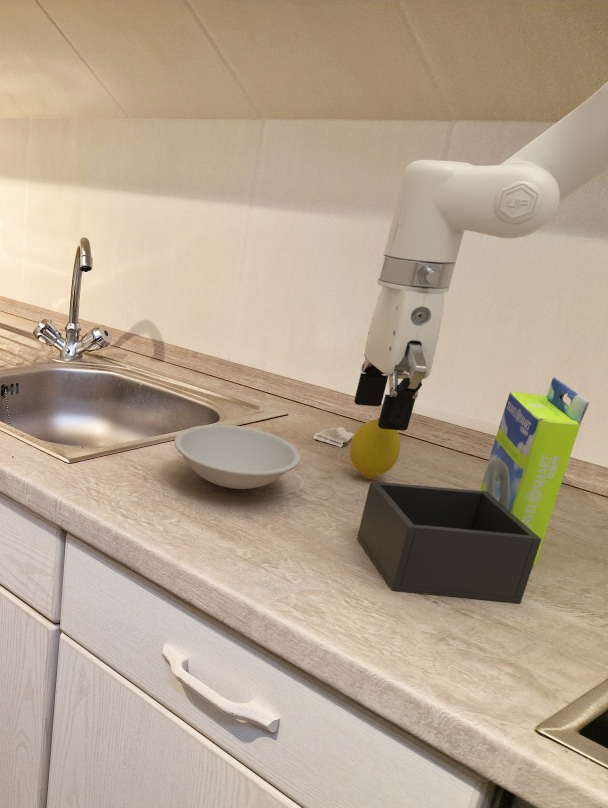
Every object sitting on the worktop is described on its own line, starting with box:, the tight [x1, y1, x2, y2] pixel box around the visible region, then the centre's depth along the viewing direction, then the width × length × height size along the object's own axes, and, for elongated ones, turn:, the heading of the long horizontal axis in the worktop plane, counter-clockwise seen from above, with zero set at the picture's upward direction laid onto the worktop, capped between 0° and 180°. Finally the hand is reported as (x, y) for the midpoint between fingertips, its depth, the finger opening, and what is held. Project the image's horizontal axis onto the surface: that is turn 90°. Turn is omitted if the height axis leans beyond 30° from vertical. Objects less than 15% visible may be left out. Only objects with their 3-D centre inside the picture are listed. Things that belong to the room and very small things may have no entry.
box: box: [479, 377, 590, 566], centre depth 87 cm, size 10×4×17 cm, turn 164°
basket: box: [356, 481, 541, 604], centre depth 83 cm, size 11×11×7 cm
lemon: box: [349, 417, 401, 480], centre depth 106 cm, size 6×6×8 cm
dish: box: [174, 424, 302, 490], centre depth 102 cm, size 18×14×5 cm
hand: (378, 416), depth 104 cm, fingers open, 9 cm apart
